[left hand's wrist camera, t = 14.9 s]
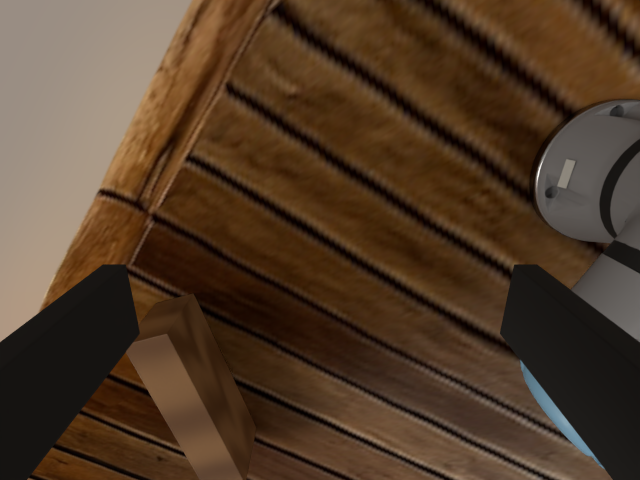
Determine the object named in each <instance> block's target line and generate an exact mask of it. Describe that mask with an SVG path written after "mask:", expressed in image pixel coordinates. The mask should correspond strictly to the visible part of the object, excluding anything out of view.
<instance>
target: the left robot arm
mask: <svg viewBox="0 0 640 480" xmlns="http://www.w3.org/2000/svg"><path fill="white" fill-rule="evenodd" d="M530 196H531V201H532V204H533V206H534V209H535V211H536V213H537V214H538V216H539V217H540V218H541V219H542V221H543V222H545V223H546V224H547V225H548V226H549V227H551V228H552V229H554V230H556V231H558V232H560V233H562V234H563V235H566V236H568V237H571V238H574V239H578V240H583V241H591V242H604V243H611V244H610V245H609V246H608V247H607V249H606V250H605V251H604V252H603V253H602V254H601V255H600V256H599V257H598V258H597V260H596V261H595V262H594V263H593V264H592V265H591V267H590V268H589V269H588V270H587V271H586V272H585V274H584V275H583V276H582V277H581V278H580V280H579V281H578V282H577V283H576V284H575V285H574V287H573V288H572V289H571V290H570V289H569V288H567V287H566V286H565V285H563V284H562V283H561V282H559V281H558V280H557V279H555V278H554V277H553V276H551V275H550V274H549V273H547V272H546V271H545V270H543V269H542V268H541V267H539V266H538V265H514V268H513V273H512V278H511V283H510V288H509V292H508V297H507V302H506V307H505V312H504V316H503V321H502V326H501V331H500V334H501V335H502V337H503V338H504V339H505V341H506V342H507V343H508V344H509V346H510V347H511V348H512V350H513V351H514V352H515V354H516V355H517V356H518V357H519V359H520V363H521V369H522V372H523V376H524V379H525V381H526V383H527V385H528V387H529V389H530V391H531V393H532V394H533V396H534V398H535V399H536V401H537V402H538V403H539V405H540V406H541V408H542V409H543V410H544V412H545V413H546V414H547V416H548V417H549V418H550V419H551V420H552V422H553V423H554V424H555V425H556V426H557V427H558V428H559V430H560V431H561V432H562V433H563V434H564V435H565V436H566V437H567V438H568V439H569V440H570V441H571V442H572V443H573V444H574V445H575V446H576V447H577V448H578V449H579V450H581V451H582V452H583V453H584V454H585V455H587V456H592V457H593V458H594V460H595V461H596V462H597V463H598V465H599V466H601V467H602V468H604V469H605V470H606V471H607V472H608V474H609V475H610V476H611V478H612V479H613V480H640V100H633V99H620V100H607V101H602V102H598V103H595V104H592V105H589V106H587V107H585V108H583V109H581V110H579V111H577V112H575V113H574V114H572V115H571V116H569V117H568V118H567V119H565V120H564V121H563V122H562V123H560V124H559V125H558V126H557V127H556V128H555V129H554V130H553V131H552V133H551V134H550V135H549V136H548V137H547V139H546V140H545V142H544V143H543V145H542V146H541V148H540V150H539V151H538V154H537V156H536V158H535V160H534V163H533V166H532V170H531V175H530ZM139 334H140V331H139V326H138V321H137V316H136V312H135V307H134V302H133V297H132V292H131V288H130V283H129V278H128V273H127V268H126V265H102V266H101V267H99V268H98V269H97V270H95V271H94V272H93V273H91V274H90V275H89V276H87V277H86V278H85V279H83V280H82V281H81V282H79V283H78V284H77V285H75V286H74V287H73V288H71V289H70V290H69V291H67V292H66V293H65V294H63V295H62V296H61V297H59V298H58V299H57V300H55V301H54V302H53V303H51V304H50V305H49V306H48V307H46V308H45V309H44V310H42V311H41V312H40V313H38V314H37V315H36V316H34V317H33V318H32V319H30V320H29V321H28V322H26V323H25V324H24V325H22V326H21V327H20V328H18V329H17V330H16V331H14V332H13V333H12V334H10V335H9V336H8V337H6V338H5V339H4V340H2V341H1V342H0V480H27V479H28V478H29V476H30V475H31V474H32V472H33V471H34V470H35V469H36V467H37V466H38V465H39V463H40V462H41V461H42V459H43V458H44V457H45V456H46V454H47V453H48V452H49V450H50V449H51V448H52V447H53V445H54V444H55V443H56V441H57V440H58V439H59V438H60V436H61V435H62V434H63V432H64V431H65V430H66V428H67V427H68V426H69V425H70V423H71V422H72V421H73V419H74V418H75V417H76V416H77V414H78V413H79V412H80V410H81V409H82V408H83V407H84V405H85V404H86V403H87V401H88V400H89V399H90V397H91V396H92V395H93V394H94V392H95V391H96V390H97V388H98V387H99V386H100V385H101V383H102V382H103V381H104V379H105V378H106V377H107V375H108V374H109V373H110V372H111V370H112V369H113V368H114V366H115V365H116V364H117V363H118V361H119V360H120V359H121V357H122V356H123V355H124V354H125V352H126V351H127V350H128V348H129V347H130V346H131V344H132V343H133V342H134V341H135V339H136V338H137V337H138V335H139Z"/></svg>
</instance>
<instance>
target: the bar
mask: <svg viewBox="0 0 640 480" xmlns="http://www.w3.org/2000/svg"><path fill="white" fill-rule="evenodd" d="M138 326H139V331H140V334H139V335H138V337H137V338H136V339H135V341H134V342H133V343H132V344H131V346H130V347H129V348H128V350H127V351H126V353H127V355H128V357H129V358H130V360H131V362H132V364H133V365H134V367H135V369H136V371H137V372H138V374H139V376H140V377H141V379H142V381H143V383H144V384H145V386H146V388H147V389H148V391H149V393H150V395H151V396H152V398H153V400H154V402H155V403H156V405H157V407H158V408H159V410H160V412H161V414H162V415H163V417H164V419H165V420H166V422H167V424H168V426H169V427H170V429H171V431H172V433H173V434H174V436H175V438H176V439H177V441H178V443H179V445H180V446H181V448H182V450H183V451H184V453H185V455H186V457H187V458H188V460H189V462H190V464H191V465H192V467H193V469H194V470H195V472H196V474H197V476H198V477H199V479H200V480H246V479H247V474H248V469H249V463H250V458H251V453H252V448H253V443H254V438H255V433H256V426H255V424H254V421H253V419H252V417H251V415H250V413H249V411H248V409H247V407H246V404H245V402H244V400H243V398H242V396H241V394H240V392H239V389H238V387H237V385H236V383H235V381H234V379H233V377H232V374H231V372H230V370H229V368H228V366H227V364H226V362H225V359H224V357H223V355H222V353H221V351H220V349H219V347H218V344H217V342H216V340H215V338H214V336H213V334H212V332H211V329H210V327H209V325H208V323H207V321H206V319H205V317H204V315H203V312H202V310H201V308H200V306H199V304H198V302H197V300H196V297H195V295H194V293H193V294H189V295H186V296H182V297H178V298H174V299H170V300H167V301H163V302H159V303H156V304H155V305H154V306H153V308H152V309H151V310H150V311H149V313H148V314H147V315H146V316H145V318H144V319H143V320H142V321H141V323H140V324H139V325H138Z"/></svg>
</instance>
